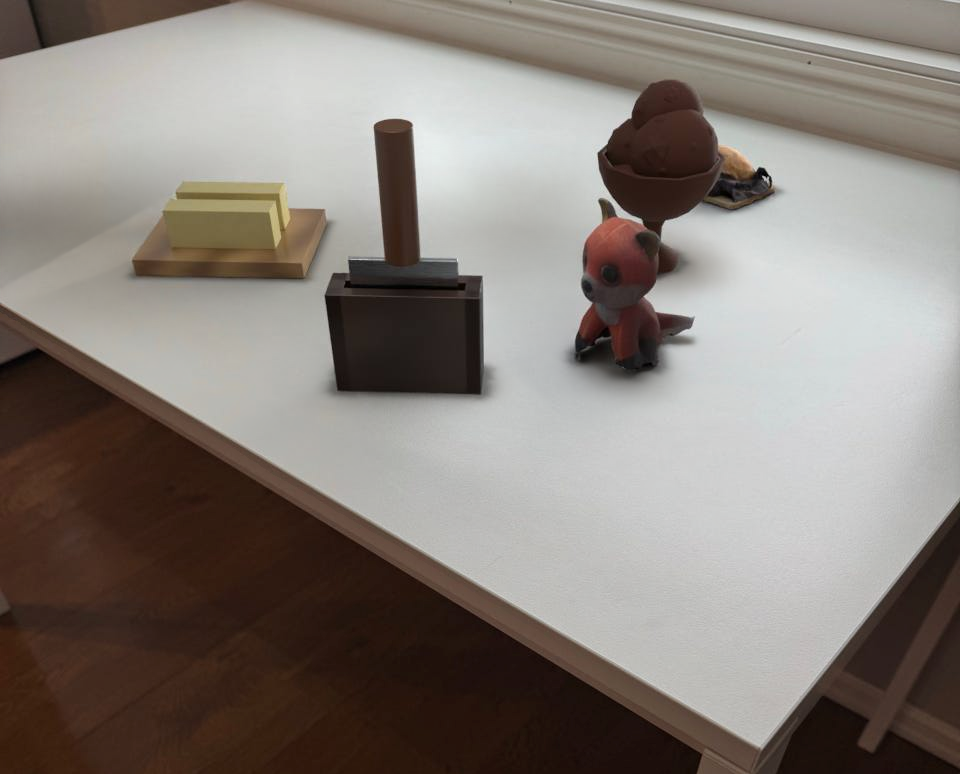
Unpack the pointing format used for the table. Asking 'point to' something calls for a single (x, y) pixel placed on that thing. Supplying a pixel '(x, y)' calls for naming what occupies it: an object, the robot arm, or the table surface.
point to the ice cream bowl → (662, 159)
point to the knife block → (407, 337)
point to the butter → (227, 215)
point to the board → (236, 253)
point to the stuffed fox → (624, 292)
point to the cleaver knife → (400, 222)
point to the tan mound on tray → (738, 182)
